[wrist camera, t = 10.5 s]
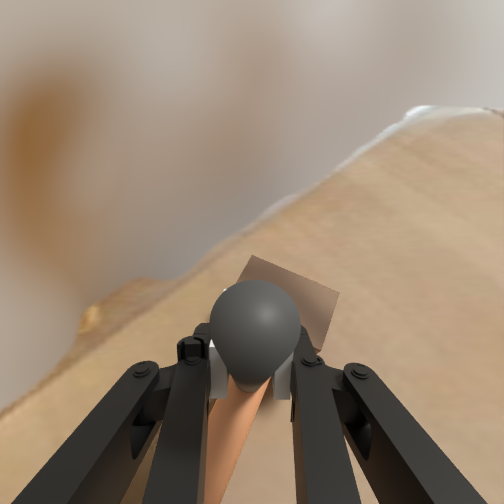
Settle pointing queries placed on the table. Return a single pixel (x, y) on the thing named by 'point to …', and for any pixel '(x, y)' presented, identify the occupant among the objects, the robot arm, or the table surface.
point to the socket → (298, 296)
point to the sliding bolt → (245, 368)
